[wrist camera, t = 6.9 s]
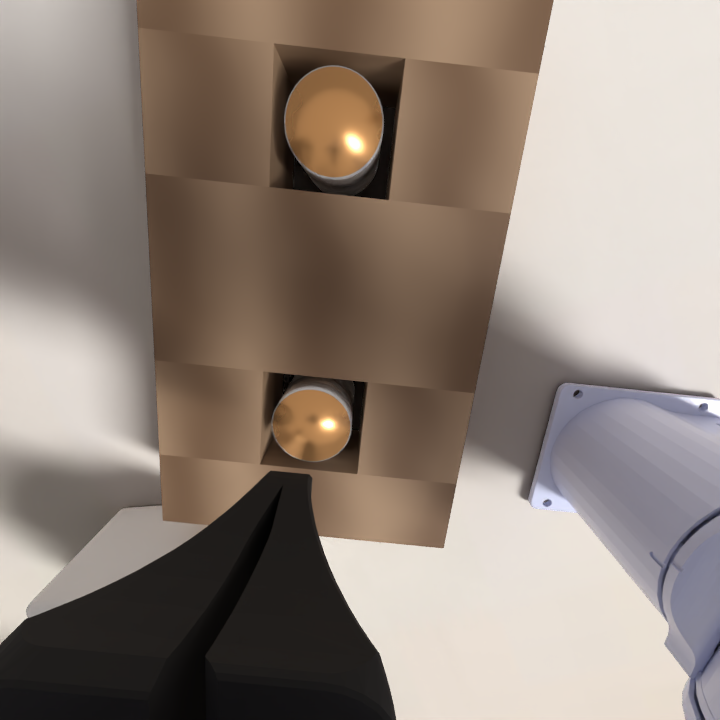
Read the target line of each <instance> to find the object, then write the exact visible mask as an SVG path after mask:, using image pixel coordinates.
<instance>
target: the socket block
mask: <svg viewBox="0 0 720 720" xmlns="http://www.w3.org/2000/svg"><path fill="white" fill-rule="evenodd" d="M552 5H553V0H137V19H138V39H139V58H140V78H141V98H142V118H143V138H144V158H145V178H146V198H147V217H148V237H149V257H150V277H151V297H152V317H153V337H154V357H155V377H156V396H157V416H158V436H159V456H160V476H161V496H162V516H163V521H170V522H180V523H190V524H201V525H210V524H211V523H212V522H213V521H215V520H216V519H217V518H218V517H220V516H221V515H222V514H223V513H225V512H226V511H227V510H228V509H229V508H231V507H232V506H233V505H234V504H235V503H236V502H237V501H238V500H240V499H241V498H242V497H243V496H244V495H245V494H246V493H247V492H248V491H249V490H250V489H252V488H253V487H254V486H255V485H256V484H257V483H258V482H259V481H260V480H261V479H262V478H263V477H264V476H265V475H266V474H267V473H268V472H270V471H281V472H291V473H301V474H310V476H311V477H312V478H313V480H312V492H311V500H312V508H313V513H314V518H315V523H316V527H317V531H318V535H319V536H324V537H334V538H344V539H354V540H365V541H375V542H385V543H395V544H406V545H416V546H426V547H436V548H444V543H445V538H446V533H447V528H448V523H449V518H450V513H451V508H452V503H453V498H454V493H455V488H456V483H457V478H458V473H459V468H460V463H461V458H462V453H463V448H464V443H465V439H466V434H467V429H468V424H469V419H470V414H471V409H472V404H473V399H474V394H475V389H476V384H477V379H478V374H479V369H480V364H481V359H482V354H483V349H484V344H485V339H486V334H487V329H488V324H489V319H490V314H491V309H492V304H493V299H494V294H495V289H496V284H497V279H498V274H499V269H500V264H501V259H502V254H503V249H504V244H505V239H506V234H507V229H508V224H509V219H510V214H511V209H512V204H513V199H514V195H515V190H516V185H517V180H518V175H519V170H520V165H521V160H522V155H523V150H524V145H525V140H526V135H527V130H528V125H529V120H530V115H531V110H532V105H533V100H534V95H535V90H536V85H537V80H538V75H539V70H540V65H541V60H542V55H543V50H544V45H545V40H546V35H547V30H548V25H549V20H550V15H551V10H552ZM330 65H338V66H343V67H347V68H350V69H352V70H354V71H356V72H358V73H359V74H360V75H362V76H363V77H364V78H365V79H366V80H367V81H368V82H369V83H370V84H371V85H372V87H373V88H374V90H375V91H376V93H377V95H378V97H379V100H380V103H381V106H382V107H390V108H395V117H394V126H393V135H392V144H391V153H390V161H389V170H388V179H387V188H386V197H385V200H383V199H374V198H365V197H355V196H346V195H337V194H328V193H319V192H310V191H301V190H293V170H294V154H293V153H292V151H291V149H290V147H289V144H288V142H287V139H286V135H285V128H284V115H285V108H286V104H287V101H288V98H289V96H290V94H291V92H292V90H293V88H294V87H295V85H296V84H297V83H298V82H299V81H300V79H301V78H303V77H304V76H305V75H306V74H308V73H309V72H311V71H312V70H315V69H317V68H320V67H323V66H330ZM283 374H293V375H303V376H312V377H322V378H332V379H341V380H351V381H361V382H365V383H364V392H363V400H362V409H361V418H360V427H359V431H358V430H351V435H350V438H349V441H348V443H347V444H346V446H345V447H344V448H343V450H342V451H341V452H339V453H338V454H337V455H335V456H334V457H332V458H330V459H327V460H324V461H319V462H308V461H303V460H299V459H297V458H294V457H292V456H291V455H289V454H288V453H286V452H285V451H284V450H283V449H282V448H281V447H280V446H279V445H278V443H277V441H276V440H275V438H274V435H273V432H272V416H273V412H274V410H275V408H276V406H277V404H278V403H279V401H280V399H281V398H282V393H283Z"/></svg>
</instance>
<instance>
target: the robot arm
mask: <svg viewBox="0 0 720 720" xmlns="http://www.w3.org/2000/svg"><path fill="white" fill-rule="evenodd" d="M576 390H579V393H578V395H576V396H573V394H574V392H575V391H576ZM701 404H702V406H701V407H700V408H699V406H700V405H701ZM312 480H313V478H312V477H311V476H310V474H301V473H291V472H281V471H270V472H268V473H267V474H266V475H265V476H264V477H263V478H262V479H261V480H260V481H259V482H258V483H257V484H256V485H255V486H254V487H253V488H252V489H250V490H249V491H248V492H247V493H246V494H245V495H244V496H243V497H242V498H241V499H240V500H238V501H237V502H236V503H235V504H234V505H233V506H232V507H231V508H229V509H228V510H227V511H226V512H225V513H223V514H222V515H221V516H220V517H218V518H217V519H216V520H215V521H213V522H212V523H211V524H210V525H208V526H207V527H206V528H204V529H203V530H202V531H200V532H199V533H198V534H196V535H195V536H193V537H192V538H191V539H189V540H188V541H186V542H185V543H183V544H182V545H180V546H178V547H177V548H175V549H174V550H172V551H170V552H169V553H167V554H165V555H163V556H162V557H160V558H158V559H156V560H155V561H153V562H151V563H149V564H148V565H146V566H144V567H142V568H141V569H139V570H137V571H135V572H133V573H131V574H129V575H127V576H125V577H123V578H121V579H119V580H117V581H115V582H113V583H111V584H109V585H107V586H105V587H102V588H100V589H98V590H96V591H94V592H92V593H89V594H87V595H85V596H82V597H80V598H78V599H75V600H73V601H70V602H68V603H65V604H63V605H60V606H58V607H55V608H53V609H50V610H48V611H45V612H43V613H40V614H38V615H35V616H33V617H30V618H27V619H26V620H24V621H23V622H22V623H21V624H20V625H19V626H18V627H17V628H16V629H15V630H14V631H13V632H12V633H11V634H10V635H9V636H8V637H7V638H6V639H5V640H4V641H3V642H2V643H1V644H0V720H396V716H395V710H394V705H393V700H392V696H391V692H390V688H389V684H388V681H387V677H386V674H385V670H384V667H383V664H382V660H381V657H380V654H379V652H378V651H377V650H376V648H375V647H374V645H373V644H372V643H371V641H370V640H369V638H368V637H367V635H366V634H365V632H364V631H363V629H362V628H361V626H360V625H359V623H358V621H357V620H356V618H355V616H354V615H353V613H352V611H351V610H350V608H349V606H348V604H347V602H346V600H345V598H344V596H343V594H342V593H341V591H340V589H339V587H338V585H337V583H336V581H335V579H334V576H333V574H332V572H331V569H330V567H329V564H328V562H327V559H326V557H325V554H324V551H323V548H322V545H321V542H320V538H319V535H318V531H317V527H316V523H315V518H314V513H313V508H312V500H311V492H312ZM547 499H549V500H548V501H547V502H544V501H545V500H547ZM528 501H529V503H530V504H531V506H532V507H533V508H536V509H544V510H554V511H564V512H574V513H578V514H579V515H580V516H581V518H582V519H583V520H584V521H585V522H586V524H587V525H588V526H589V527H590V529H591V530H592V531H593V532H594V533H595V535H596V536H597V537H598V538H599V539H600V541H601V542H602V543H603V544H604V546H605V547H606V548H607V549H608V550H609V552H610V553H611V554H612V555H613V556H614V558H615V559H616V560H617V561H618V563H619V564H620V565H621V566H622V567H623V569H624V570H625V571H626V572H627V573H628V575H629V576H630V577H631V578H632V580H633V581H634V582H635V583H636V584H637V586H638V587H639V588H640V589H641V590H642V592H643V593H644V594H645V595H646V597H647V598H648V599H649V600H650V601H651V603H652V604H653V605H654V606H655V607H656V609H657V610H658V611H659V612H660V614H661V615H662V616H663V617H664V618H665V620H666V621H667V622H668V624H669V632H668V636H667V638H666V640H665V643H664V644H665V646H666V647H667V648H668V650H669V651H670V652H671V654H672V655H673V656H674V658H675V659H676V660H677V661H678V663H679V664H680V665H681V667H682V668H683V669H684V671H685V672H686V673H687V674H688V676H689V679H688V680H687V682H686V684H685V686H684V689H683V693H682V706H683V711H684V715H685V719H686V720H720V399H719V398H710V397H700V396H690V395H681V394H671V393H662V392H652V391H642V390H633V389H623V388H613V387H604V386H594V385H585V384H575V383H564V384H561V385H560V386H559V387H558V389H557V392H556V396H555V400H554V403H553V407H552V411H551V415H550V418H549V422H548V426H547V430H546V434H545V437H544V441H543V445H542V449H541V452H540V456H539V460H538V464H537V467H536V471H535V475H534V479H533V483H532V486H531V490H530V494H529V498H528ZM543 502H544V503H543Z"/></svg>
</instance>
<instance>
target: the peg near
mask: <svg viewBox="0 0 720 720" xmlns="http://www.w3.org/2000/svg"><path fill="white" fill-rule="evenodd" d="M284 128H285V135H286V139H287V142H288V144H289V147H290V149H291V151H292V153H293V154H294V156H295V157H296V159H297V160H298V162H299V163H300V164H301V166H302V167H303V169H304V170H305V171H306V173H307V174H308V176H309V177H310V178H311V180H312V181H313V183H314V184H315V185H316V186H317V187H318V188H319V189H320V190H322V191H323V192H325V193H328V194H337V195H346V196H353V195H355V194H358V193H359V192H361V191H362V190H364V189H365V188H366V187H367V186H368V185H369V184H370V183H371V181H372V180H373V178H374V176H375V174H376V172H377V169H378V165H379V158H380V151H381V144H382V137H383V129H384V117H383V110H382V106H381V103H380V100H379V97H378V95H377V93H376V91H375V90H374V88H373V87H372V85H371V84H370V83H369V82H368V81H367V80H366V79H365V78H364V77H363V76H362V75H360V74H359V73H358V72H356V71H354V70H352V69H350V68H347V67H343V66H338V65H330V66H323V67H320V68H317V69H315V70H312V71H311V72H309V73H308V74H306V75H305V76H304V77H303V78H301V79H300V81H299V82H298V83H297V84H296V85H295V87H294V88H293V90H292V92H291V94H290V96H289V98H288V101H287V104H286V108H285V115H284Z"/></svg>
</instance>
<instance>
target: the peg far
mask: <svg viewBox="0 0 720 720" xmlns="http://www.w3.org/2000/svg"><path fill="white" fill-rule="evenodd" d="M354 392H355V390H354V384H353V381H351V380H341V379H332V378H322V377H312V376H303V375H295V376H294V378H293V379H292V381H291V383H290V384H289V386H288V388H287V389H286V391H285V393H284V394H283V396H282V398H281V399H280V401H279V403H278V404H277V406H276V408H275V410H274V412H273V416H272V432H273V435H274V438H275V440H276V441H277V443H278V445H279V446H280V447H281V448H282V449H283V450H284V451H285V452H286V453H288V454H289V455H291V456H292V457H294V458H297V459H299V460H303V461H308V462H319V461H324V460H327V459H330V458H332V457H334V456H335V455H337V454H338V453H339V452H341V451H342V450H343V448H344V447H345V446H346V444H347V443H348V441H349V438H350V435H351V429H352V417H353V405H354Z"/></svg>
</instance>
